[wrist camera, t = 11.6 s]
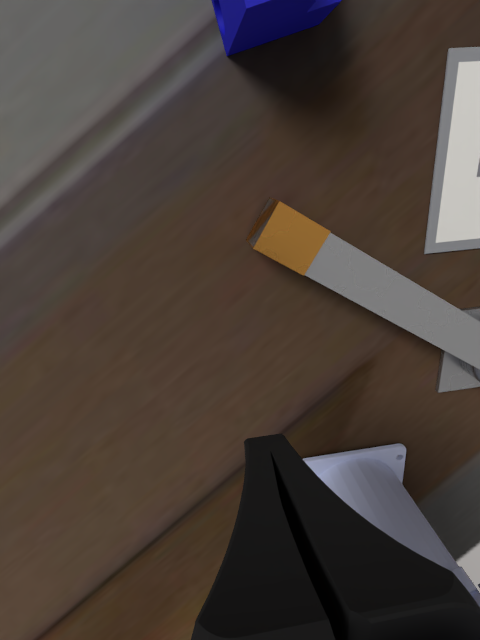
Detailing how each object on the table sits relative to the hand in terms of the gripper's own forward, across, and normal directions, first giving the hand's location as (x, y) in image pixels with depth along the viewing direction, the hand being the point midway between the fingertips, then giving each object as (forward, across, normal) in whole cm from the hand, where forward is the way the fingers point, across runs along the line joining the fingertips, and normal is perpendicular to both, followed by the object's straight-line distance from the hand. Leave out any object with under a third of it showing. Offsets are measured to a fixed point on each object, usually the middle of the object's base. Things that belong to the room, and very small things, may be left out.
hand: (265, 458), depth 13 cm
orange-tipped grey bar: (+10, -10, -1) cm, 14 cm away
